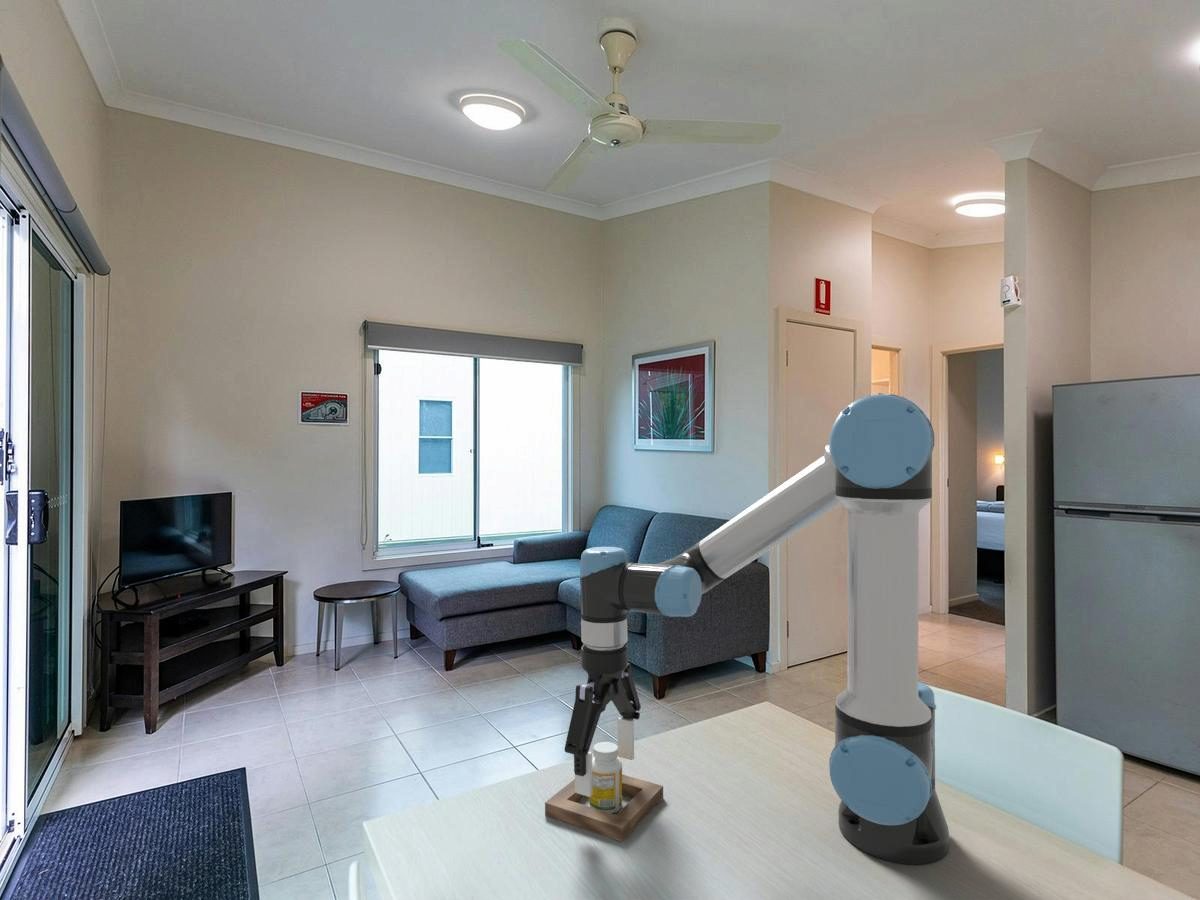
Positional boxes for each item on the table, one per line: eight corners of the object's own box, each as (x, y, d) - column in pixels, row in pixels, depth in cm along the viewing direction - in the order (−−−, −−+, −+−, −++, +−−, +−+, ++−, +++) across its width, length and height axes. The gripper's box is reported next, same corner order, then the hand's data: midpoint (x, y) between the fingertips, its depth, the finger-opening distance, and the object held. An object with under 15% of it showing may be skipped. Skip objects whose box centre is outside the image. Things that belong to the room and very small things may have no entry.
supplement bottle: (605, 819, 103) (604, 757, 103) (582, 806, 107) (582, 746, 107) (629, 806, 107) (628, 747, 107) (606, 794, 111) (606, 736, 111)
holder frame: (663, 797, 110) (663, 785, 110) (622, 841, 98) (622, 828, 98) (591, 776, 117) (591, 765, 117) (545, 815, 105) (545, 802, 105)
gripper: (621, 622, 120) (622, 740, 120) (540, 662, 98) (542, 804, 98) (658, 628, 116) (660, 749, 116) (582, 670, 94) (584, 818, 94)
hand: (606, 774), depth 107 cm, fingers open, 13 cm apart
